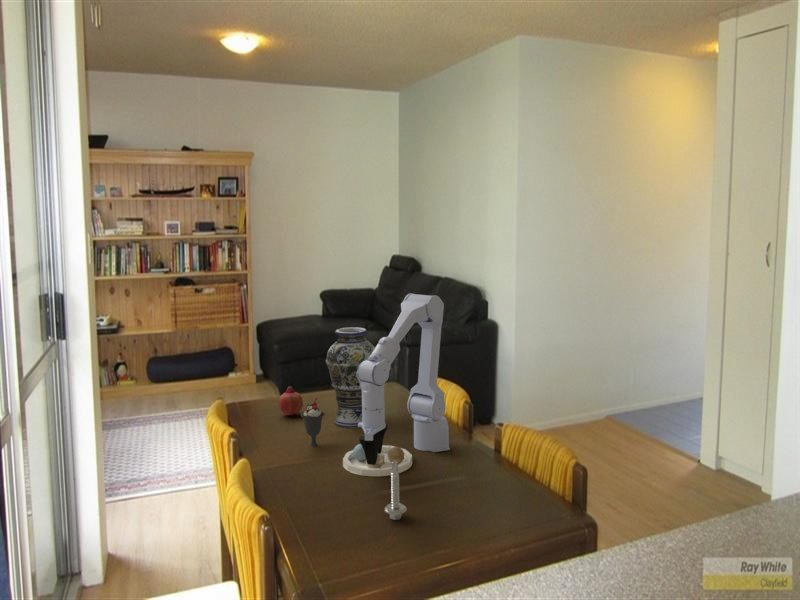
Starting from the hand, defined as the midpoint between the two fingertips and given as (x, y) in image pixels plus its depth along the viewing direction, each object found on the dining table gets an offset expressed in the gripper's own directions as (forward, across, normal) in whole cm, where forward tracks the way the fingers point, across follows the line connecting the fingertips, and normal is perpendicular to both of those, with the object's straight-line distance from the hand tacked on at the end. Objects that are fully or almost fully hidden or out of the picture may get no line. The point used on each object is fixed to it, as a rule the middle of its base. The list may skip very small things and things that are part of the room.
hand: (374, 458), depth 171 cm
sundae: (+4, -16, -20) cm, 26 cm away
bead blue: (+3, -6, -5) cm, 8 cm away
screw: (+4, +25, +9) cm, 27 cm away
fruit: (+4, -45, -36) cm, 58 cm away
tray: (+4, -5, 0) cm, 6 cm away
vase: (+4, -41, -14) cm, 43 cm away
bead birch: (+3, 0, 0) cm, 3 cm away
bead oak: (+3, -5, +5) cm, 7 cm away
